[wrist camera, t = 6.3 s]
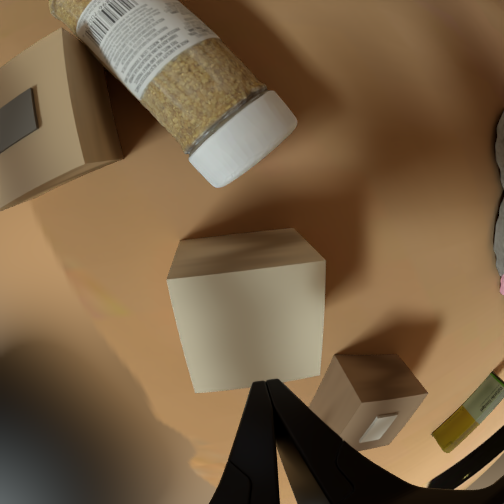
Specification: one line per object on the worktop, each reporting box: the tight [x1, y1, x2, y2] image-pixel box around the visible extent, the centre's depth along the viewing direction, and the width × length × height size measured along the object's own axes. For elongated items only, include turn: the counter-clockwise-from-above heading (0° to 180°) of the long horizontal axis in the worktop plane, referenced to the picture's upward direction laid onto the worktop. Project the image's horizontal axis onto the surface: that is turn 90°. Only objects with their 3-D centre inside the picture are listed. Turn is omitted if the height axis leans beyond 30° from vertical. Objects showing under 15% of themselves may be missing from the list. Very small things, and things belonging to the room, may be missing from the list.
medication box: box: [432, 371, 504, 453], centre depth 25 cm, size 12×3×4 cm, turn 140°
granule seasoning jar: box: [49, 0, 297, 188], centre depth 10 cm, size 5×5×14 cm
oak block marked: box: [0, 28, 124, 211], centre depth 10 cm, size 6×6×5 cm
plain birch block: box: [167, 228, 326, 393], centre depth 14 cm, size 6×6×5 cm
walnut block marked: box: [308, 354, 428, 451], centre depth 18 cm, size 6×6×5 cm
